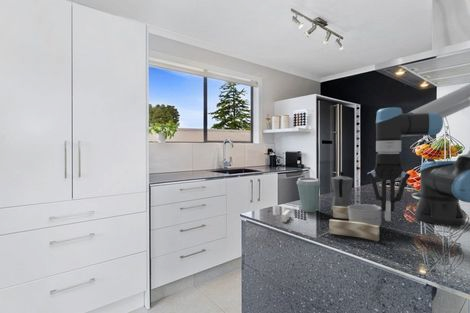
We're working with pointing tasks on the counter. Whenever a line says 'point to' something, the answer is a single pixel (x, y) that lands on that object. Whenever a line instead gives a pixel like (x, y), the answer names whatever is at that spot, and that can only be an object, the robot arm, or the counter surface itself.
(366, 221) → the teacup
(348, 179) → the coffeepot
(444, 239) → the counter surface
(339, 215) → the channel
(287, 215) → the bumper
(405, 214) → the counter surface
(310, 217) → the counter surface
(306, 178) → the disposable coffee cup
